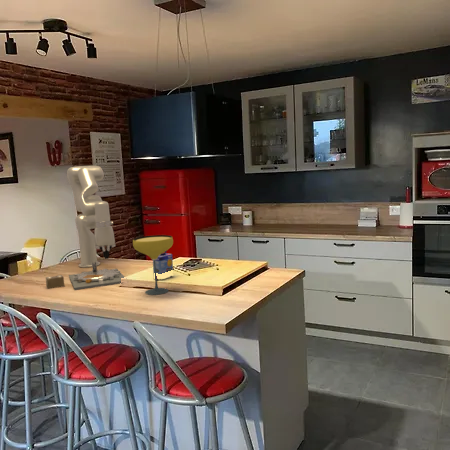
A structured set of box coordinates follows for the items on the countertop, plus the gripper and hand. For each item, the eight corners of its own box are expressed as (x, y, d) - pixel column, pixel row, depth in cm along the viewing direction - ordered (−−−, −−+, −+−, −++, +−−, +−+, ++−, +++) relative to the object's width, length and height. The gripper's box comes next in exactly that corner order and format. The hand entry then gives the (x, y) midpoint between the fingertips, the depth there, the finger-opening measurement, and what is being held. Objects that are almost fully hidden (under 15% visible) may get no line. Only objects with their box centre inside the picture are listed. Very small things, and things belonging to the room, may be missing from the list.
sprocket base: (69, 277, 257) (68, 271, 256) (116, 270, 266) (116, 265, 266) (74, 290, 227) (74, 283, 227) (128, 282, 237) (127, 276, 237)
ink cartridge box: (161, 281, 237) (159, 252, 235) (153, 279, 240) (151, 252, 238) (174, 276, 245) (172, 249, 243) (166, 275, 248) (164, 248, 246)
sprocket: (71, 275, 253) (70, 263, 252) (116, 269, 262) (115, 258, 261) (75, 285, 231) (74, 272, 230) (124, 278, 240) (123, 265, 239)
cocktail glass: (133, 290, 222) (129, 237, 218) (171, 284, 228) (167, 233, 225) (141, 299, 205) (136, 243, 202) (181, 293, 211) (177, 238, 208)
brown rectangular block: (46, 287, 238) (45, 276, 237) (63, 284, 241) (62, 274, 240) (47, 289, 233) (46, 278, 232) (64, 286, 237) (63, 276, 236)
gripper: (116, 222, 259) (119, 255, 261) (88, 225, 253) (91, 259, 255) (118, 223, 252) (121, 257, 254) (89, 226, 246) (93, 261, 248)
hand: (106, 258), depth 254 cm, fingers closed
